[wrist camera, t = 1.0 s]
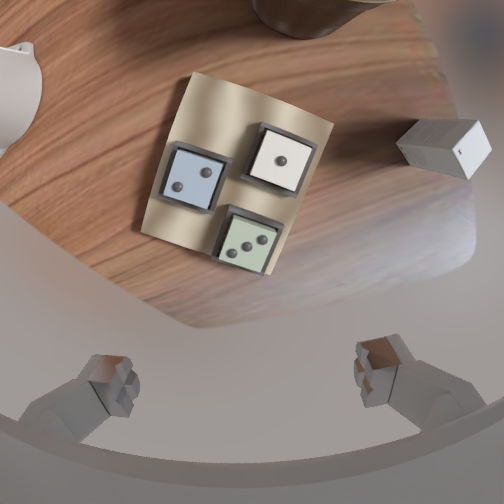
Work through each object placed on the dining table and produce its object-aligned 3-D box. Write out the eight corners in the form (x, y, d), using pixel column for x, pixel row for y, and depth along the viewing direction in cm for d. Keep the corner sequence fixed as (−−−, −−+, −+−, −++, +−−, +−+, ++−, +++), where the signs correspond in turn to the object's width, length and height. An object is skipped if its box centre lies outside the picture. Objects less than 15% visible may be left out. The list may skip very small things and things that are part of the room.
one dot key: (249, 172, 31) (250, 174, 29) (266, 130, 30) (267, 130, 28) (291, 188, 32) (294, 191, 30) (308, 148, 30) (312, 148, 29)
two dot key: (166, 191, 31) (162, 194, 30) (180, 149, 30) (177, 150, 28) (208, 205, 32) (206, 209, 30) (223, 163, 31) (222, 164, 29)
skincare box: (410, 167, 35) (467, 182, 23) (394, 142, 33) (450, 149, 22) (435, 142, 33) (493, 150, 22) (420, 117, 32) (478, 118, 21)
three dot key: (219, 253, 34) (218, 259, 33) (233, 214, 33) (233, 218, 31) (259, 266, 35) (260, 273, 34) (274, 228, 34) (277, 234, 32)
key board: (144, 227, 36) (136, 235, 32) (195, 75, 29) (191, 68, 26) (268, 268, 39) (271, 280, 35) (328, 124, 32) (338, 123, 29)
